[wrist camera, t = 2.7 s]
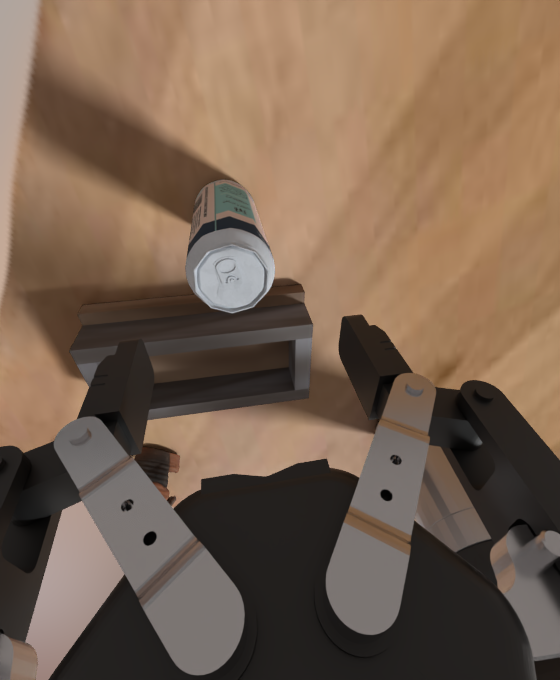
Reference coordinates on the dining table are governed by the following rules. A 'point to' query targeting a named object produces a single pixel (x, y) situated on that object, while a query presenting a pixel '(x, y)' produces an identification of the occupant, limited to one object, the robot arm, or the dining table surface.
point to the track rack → (206, 349)
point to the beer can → (228, 249)
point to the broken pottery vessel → (158, 468)
